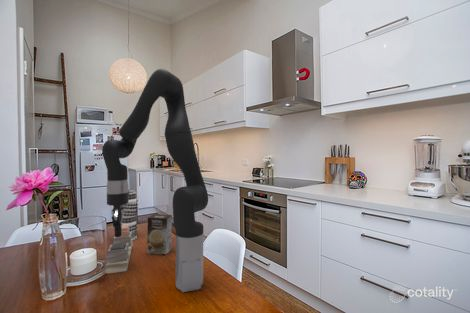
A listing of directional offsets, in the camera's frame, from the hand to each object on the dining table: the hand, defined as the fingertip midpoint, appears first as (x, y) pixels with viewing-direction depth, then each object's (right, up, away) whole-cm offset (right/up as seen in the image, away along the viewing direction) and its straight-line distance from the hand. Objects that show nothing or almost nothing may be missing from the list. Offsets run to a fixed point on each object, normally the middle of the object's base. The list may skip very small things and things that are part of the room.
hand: (118, 236), depth 90 cm
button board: (-3, -12, +7) cm, 14 cm away
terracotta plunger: (-5, -5, +14) cm, 15 cm away
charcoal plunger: (0, -9, 0) cm, 9 cm away
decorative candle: (-10, -12, +30) cm, 34 cm away
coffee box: (+11, -12, +14) cm, 22 cm away
